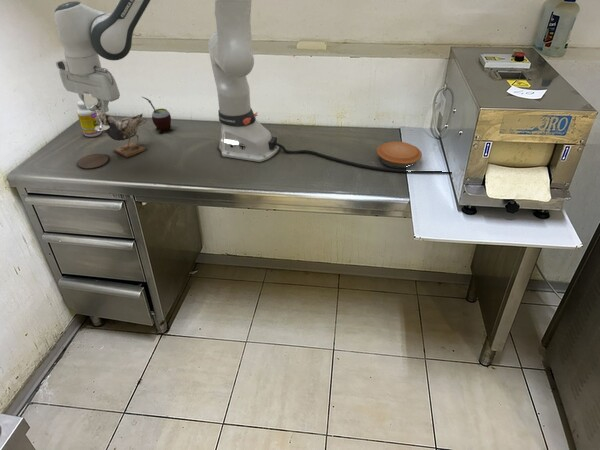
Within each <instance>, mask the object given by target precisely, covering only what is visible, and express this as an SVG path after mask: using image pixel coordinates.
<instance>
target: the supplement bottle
mask: <svg viewBox="0 0 600 450" xmlns="http://www.w3.org/2000/svg"><path fill="white" fill-rule="evenodd" d="M76 104H77V107H78V109H77V110H76V114H77V117H78V120H79V123H80V127H81V130H82V132H83V135H84V136H86V137H88V138H93V137H98V136H100V135H102V132H103V131H97V130H94V129H95V127H96V126H97V125H98V123H97V122H96V117H97V112H94V111H90V110H89V109H88V108H86V107H85V106H84V102H83V101H82V100H81V99H80V100H78V101H77V102H76Z"/></svg>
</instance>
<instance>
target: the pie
mask: <svg viewBox="0 0 600 450" xmlns="http://www.w3.org/2000/svg"><path fill="white" fill-rule="evenodd" d="M376 153H377V155H378V157H379V158H380V160H381V162H382V164H384V165H385V166H387V167H388V168H391V169H404V170H405V169H408V168H411V167H412V166H413V165H414V164H416V163H417V162H418V161H419V160H421V159H422V156H423V154H422V151H421V150H420V149H419V147H418V146H415V145H413V144H411V143H408V142H404V141H389V142H385V143H382V144H381V145H379V146H377V148H376ZM412 164H413V165H412ZM408 165H411V166H408ZM406 166H408V167H406Z"/></svg>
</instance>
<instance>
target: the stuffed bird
mask: <svg viewBox="0 0 600 450" xmlns="http://www.w3.org/2000/svg"><path fill="white" fill-rule="evenodd" d="M99 113H100V119H101V122H102V124H103V125H109V126H110V127H109V129H107V130H103V132H104V133H106V134H107V136H108V137H109V138H111V139H112V140H114V141H119V142H120V141H126V140H128V141H127V143H125V144H123V145H121V146H119V147H116V148H114V149H113V150H114V152H115V153H117V154H119V155H121V156H123V157H125V158H130V157H132V156H135V155H136V154H139V153H142V152H144V151H146V147H144V146H142V145H140V144H139V143H136V142H134V141H131V142H130V140H131V138H134V137H136V138H137V139H136V140H137V142H139V135H138V130H139V127H141V126H142V125H145V124H146V122H147V121H148V118H145V117H143V116H144V115H143V114H144V112H142V113H140V114H137V115H135V116H129V117H124V118H121V119H118V120H116V119H115V118H114V117H112V115H110V114H109V113H108V112H106V113H105V112H102V111H99ZM96 122H97V123H98V125H97V126H99V125H100V121H99V118H98V116H97V117H96ZM97 126H96V127H97ZM94 130H95V129H94Z"/></svg>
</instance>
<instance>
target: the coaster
mask: <svg viewBox="0 0 600 450" xmlns="http://www.w3.org/2000/svg"><path fill="white" fill-rule="evenodd" d="M108 163H109V157H108V156H107V155H106V154H102V153H95V154H89V155H87V156H84V157H81V158H80V159H79V160H78V161H77V166H78V167H79V168H80V169H81V170H93V169H94V170H95V169H98V168H101V167H104V166H105V165H106V164H108Z"/></svg>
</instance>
